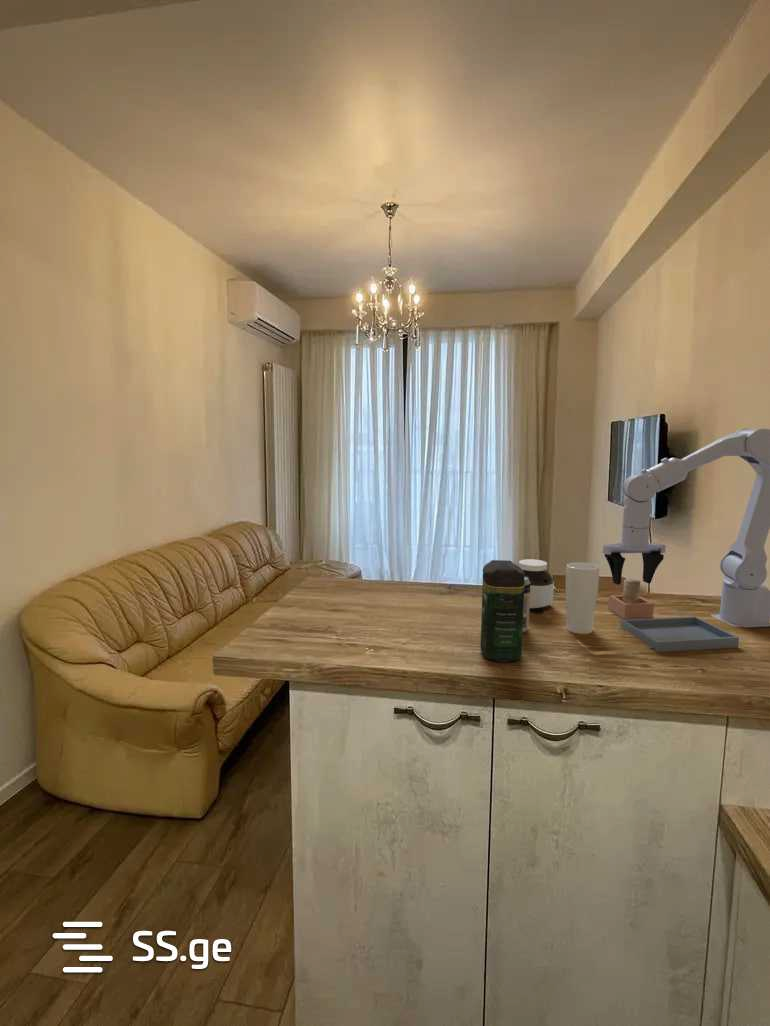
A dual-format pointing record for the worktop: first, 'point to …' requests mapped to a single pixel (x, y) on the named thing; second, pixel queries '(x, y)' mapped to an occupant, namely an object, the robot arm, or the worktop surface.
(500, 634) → the coffee jar
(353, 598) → the worktop surface
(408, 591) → the worktop surface
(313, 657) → the worktop surface
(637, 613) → the salmon open box
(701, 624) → the slate tray
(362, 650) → the worktop surface
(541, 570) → the spread jar
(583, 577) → the drinking glass
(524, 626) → the beer can
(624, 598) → the ash peg
